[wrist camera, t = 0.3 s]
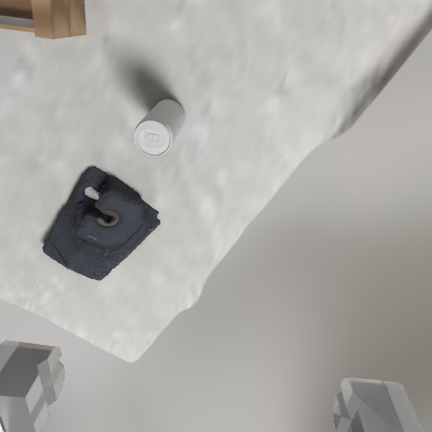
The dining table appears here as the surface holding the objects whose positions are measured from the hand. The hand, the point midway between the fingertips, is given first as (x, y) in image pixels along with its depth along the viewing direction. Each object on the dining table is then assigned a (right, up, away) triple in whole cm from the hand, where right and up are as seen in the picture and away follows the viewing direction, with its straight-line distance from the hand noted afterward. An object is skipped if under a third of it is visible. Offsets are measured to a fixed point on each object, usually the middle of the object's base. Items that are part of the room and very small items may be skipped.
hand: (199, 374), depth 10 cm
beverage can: (-6, +20, +44) cm, 49 cm away
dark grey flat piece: (-21, +3, +55) cm, 59 cm away
